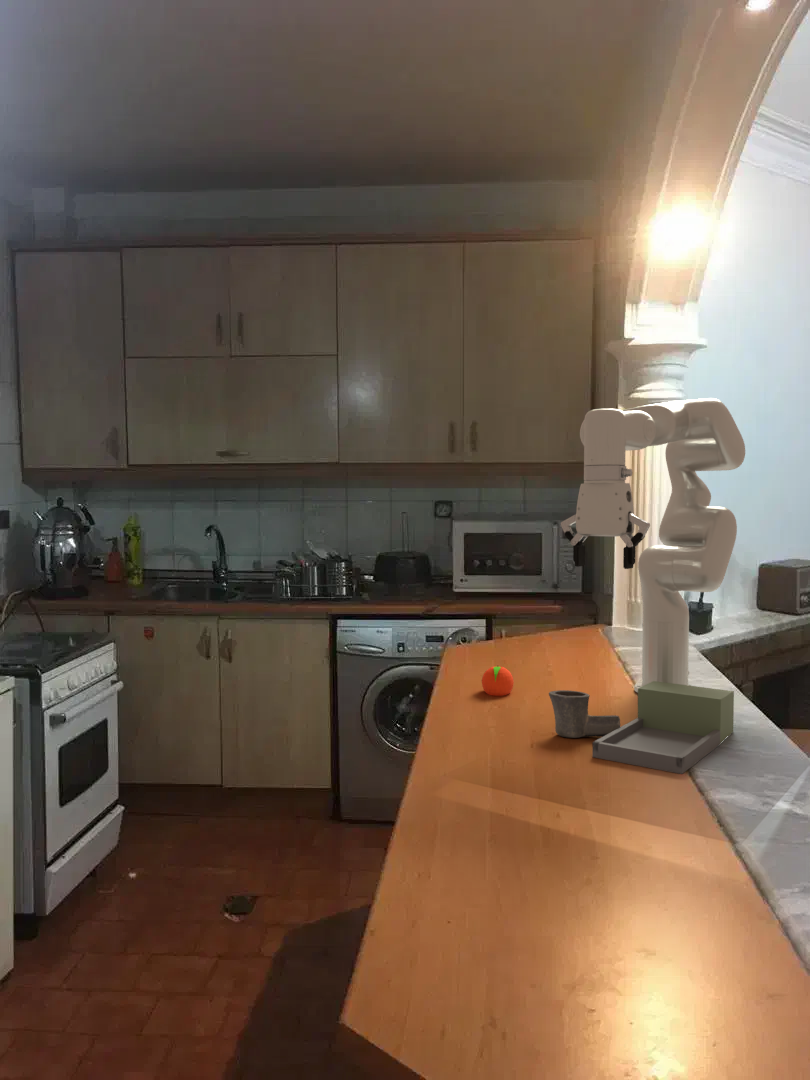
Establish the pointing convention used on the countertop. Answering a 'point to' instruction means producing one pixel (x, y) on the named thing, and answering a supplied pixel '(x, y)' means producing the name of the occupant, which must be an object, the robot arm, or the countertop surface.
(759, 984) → the countertop surface
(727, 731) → the gray tray
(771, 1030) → the countertop surface
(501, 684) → the clementine
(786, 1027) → the countertop surface
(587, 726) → the pipe
